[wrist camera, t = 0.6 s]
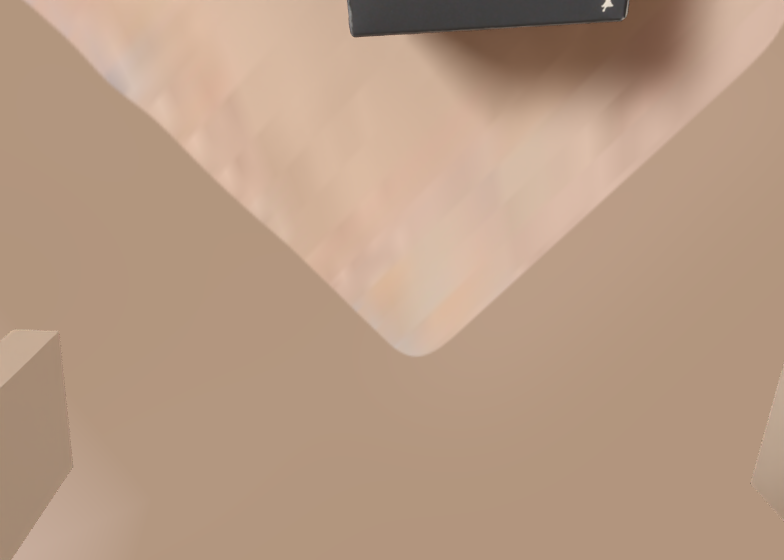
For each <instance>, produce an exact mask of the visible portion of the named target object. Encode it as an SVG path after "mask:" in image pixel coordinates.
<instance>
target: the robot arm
mask: <svg viewBox="0 0 784 560" xmlns="http://www.w3.org/2000/svg"><path fill="white" fill-rule="evenodd" d="M72 468H73V461H72V451H71V441H70V432H69V423H68V412H67V403H66V393H65V383H64V375H63V365H62V355H61V345H60V336H59V331H46V330H19V329H14V330H12V331H11V332H10V333H9V334H7V335H6V336H5V337H4V338H3V339H1V340H0V560H11V559H12V558H13V556H14V555H15V553H16V552H17V550H18V549H19V547H20V546H21V544H22V543H23V541H24V540H25V538H26V537H27V535H28V534H29V532H30V530H31V529H32V528H33V526H34V525H35V523H36V522H37V520H38V519H39V517H40V516H41V514H42V513H43V511H44V510H45V508H46V507H47V505H48V504H49V502H50V501H51V499H52V498H53V496H54V495H55V493H56V492H57V490H58V489H59V487H60V486H61V484H62V483H63V481H64V480H65V478H66V477H67V475H68V474H69V472H70V470H71V469H72ZM750 484H751V485H752V486H753V487H754V489H755V490H756V491H757V492H758V493H759V494H760V495H761V497H762V498H763V499H764V500H765V501H766V502H767V503H768V504H769V506H770V507H771V508H772V509H773V510H774V511H775V512H776V513H777V514H778V516H779V517H780V518H781V519H782V520H783V521H784V364H783V367H782V371H781V375H780V378H779V382H778V385H777V389H776V393H775V396H774V400H773V404H772V407H771V411H770V415H769V418H768V422H767V426H766V429H765V433H764V436H763V440H762V444H761V447H760V451H759V454H758V458H757V462H756V465H755V469H754V472H753V476H752V480H751V483H750Z"/></svg>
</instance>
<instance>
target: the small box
mask: <svg viewBox="0 0 784 560" xmlns="http://www.w3.org/2000/svg"><path fill="white" fill-rule="evenodd" d="M347 3H348V13H349V27H350V33H351V35H352V36H353V37H365V36H384V35H401V34H418V33H436V32H452V31H472V30H487V29H502V28H517V27H538V26H553V25H571V24H584V23H586V24H589V23H599V22H618V21H622V20H624V19H625V18H626V17H627V14H628V6H629V0H347Z"/></svg>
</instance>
